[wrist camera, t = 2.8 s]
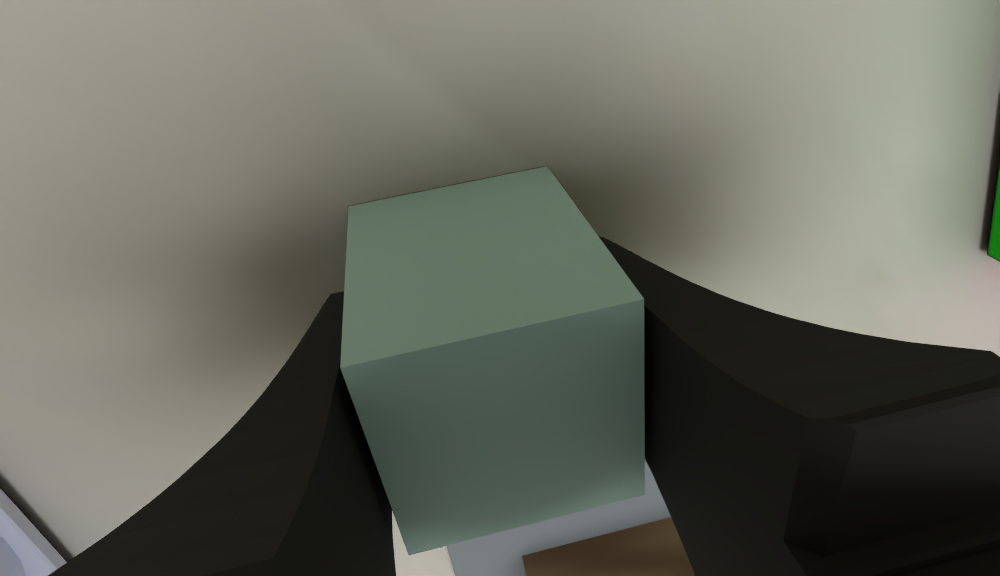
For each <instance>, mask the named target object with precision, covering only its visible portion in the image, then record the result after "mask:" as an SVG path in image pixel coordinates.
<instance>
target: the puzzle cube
mask: <svg viewBox="0 0 1000 576" xmlns="http://www.w3.org/2000/svg"><path fill="white" fill-rule="evenodd" d="M987 255H989V256H990V257H992V258H994V259H996V260H998V261H1000V161H999V168H998V176H997V183H996V191H995V198H994V206H993V213H992V221H991V228H990V236H989V243H988V252H987Z"/></svg>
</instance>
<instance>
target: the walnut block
mask: <svg viewBox="0 0 1000 576" xmlns="http://www.w3.org/2000/svg"><path fill="white" fill-rule="evenodd" d="M522 559H523V564H524V570H525V575H526V576H695V574H694V571H693V568H692V566H691V564H690V561H689V559H688V556H687V554H686V551H685V549H684V547H683V544H682V542H681V539H680V537H679V535H678V532H677V530H676V527H675V525H674V523H673V520H672V518H671V517H669V518H665V519H661V520H657V521H654V522H650V523H646V524H642V525H638V526H634V527H631V528H627V529H623V530H619V531H615V532H611V533H608V534H604V535H600V536H596V537H592V538H588V539H585V540H581V541H577V542H573V543H569V544H565V545H562V546H558V547H554V548H550V549H546V550H542V551H539V552H535V553H531V554H527V555H523V556H522Z"/></svg>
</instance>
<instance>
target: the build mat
mask: <svg viewBox="0 0 1000 576" xmlns="http://www.w3.org/2000/svg"><path fill="white" fill-rule="evenodd" d="M669 517H671V515H670V513H669V511H668V509H667V506H666V504H665V502H664V499H663V497H662V495H661V493H660V490H659V488H658V486H657V483H656V481H655V479H654V476H653V474H652V472H651V470H650V468H649V466H648V464H647V462H646V460H645V495H642V496H638V497H634V498H630V499H626V500H623V501H619V502H615V503H611V504H607V505H603V506H599V507H595V508H591V509H587V510H584V511H580V512H576V513H572V514H568V515H564V516H560V517H556V518H552V519H548V520H544V521H541V522H537V523H533V524H529V525H525V526H521V527H517V528H513V529H509V530H505V531H501V532H498V533H494V534H490V535H486V536H482V537H478V538H474V539H470V540H466V541H462V542H459V543H455V544H451V545H447V549H448V552H449V555H450V559H451V562H452V565H453V569H454V572H455V575H456V576H526V575H525V570H524V564H523V559H522V556H523V555H527V554H531V553H535V552H539V551H542V550H546V549H550V548H554V547H558V546H562V545H565V544H569V543H573V542H577V541H581V540H585V539H588V538H592V537H596V536H600V535H604V534H608V533H611V532H615V531H619V530H623V529H627V528H631V527H634V526H638V525H642V524H646V523H650V522H654V521H657V520H661V519H665V518H669Z"/></svg>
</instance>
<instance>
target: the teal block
mask: <svg viewBox="0 0 1000 576" xmlns="http://www.w3.org/2000/svg"><path fill="white" fill-rule="evenodd" d="M340 368H341V371H342V374H343V377H344V379H345V382H346V385H347V387H348V390H349V393H350V396H351V398H352V401H353V404H354V407H355V409H356V412H357V415H358V418H359V420H360V423H361V426H362V428H363V431H364V434H365V437H366V439H367V442H368V445H369V448H370V450H371V453H372V456H373V459H374V461H375V464H376V467H377V470H378V472H379V475H380V478H381V480H382V483H383V486H384V489H385V491H386V494H387V497H388V500H389V502H390V505H391V508H392V511H393V513H394V516H395V519H396V521H397V524H398V527H399V530H400V532H401V535H402V538H403V541H404V543H405V546H406V549H407V552H408V554H409V555H412V554H416V553H419V552H423V551H427V550H431V549H435V548H439V547H443V546H447V545H451V544H455V543H459V542H462V541H466V540H470V539H474V538H478V537H482V536H486V535H490V534H494V533H498V532H501V531H505V530H509V529H513V528H517V527H521V526H525V525H529V524H533V523H537V522H541V521H544V520H548V519H552V518H556V517H560V516H564V515H568V514H572V513H576V512H580V511H584V510H587V509H591V508H595V507H599V506H603V505H607V504H611V503H615V502H619V501H623V500H626V499H630V498H634V497H638V496H642V495H645V415H644V298H643V297H642V295H641V294H640V293H639V291H638V290H637V289H636V287H635V286H634V284H633V283H632V282H631V280H630V279H629V278H628V276H627V275H626V273H625V272H624V271H623V269H622V268H621V267H620V265H619V264H618V262H617V261H616V260H615V258H614V257H613V256H612V254H611V253H610V252H609V250H608V249H607V247H606V246H605V245H604V243H603V242H602V241H601V239H600V238H599V236H598V235H597V234H596V232H595V231H594V230H593V228H592V227H591V225H590V224H589V223H588V221H587V220H586V219H585V217H584V216H583V215H582V213H581V212H580V210H579V209H578V208H577V206H576V205H575V204H574V202H573V201H572V199H571V198H570V197H569V195H568V194H567V193H566V191H565V190H564V188H563V187H562V186H561V184H560V183H559V182H558V180H557V179H556V178H555V176H554V175H553V173H552V172H551V171H550V169H549V168H548V167H547V166H545V167H540V168H535V169H530V170H525V171H520V172H515V173H511V174H506V175H501V176H496V177H491V178H486V179H481V180H476V181H471V182H466V183H461V184H456V185H451V186H446V187H441V188H436V189H432V190H427V191H422V192H417V193H412V194H407V195H402V196H397V197H392V198H387V199H382V200H377V201H372V202H367V203H362V204H357V205H352V206H348V226H347V246H346V265H345V285H344V305H343V324H342V344H341V363H340Z"/></svg>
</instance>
